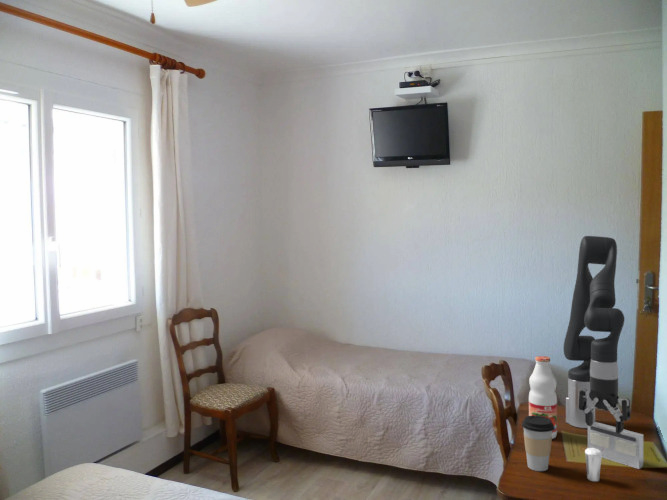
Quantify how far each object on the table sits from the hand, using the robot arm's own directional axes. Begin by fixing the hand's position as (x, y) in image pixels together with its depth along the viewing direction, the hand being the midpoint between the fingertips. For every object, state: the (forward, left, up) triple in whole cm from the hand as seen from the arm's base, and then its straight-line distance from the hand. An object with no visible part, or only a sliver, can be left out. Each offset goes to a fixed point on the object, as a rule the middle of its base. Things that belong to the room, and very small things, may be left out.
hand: (603, 429), depth 166 cm
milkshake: (-1, -4, -15) cm, 15 cm away
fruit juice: (-29, +16, -15) cm, 37 cm away
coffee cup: (-16, -9, -15) cm, 24 cm away
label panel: (-3, +14, -14) cm, 21 cm away
